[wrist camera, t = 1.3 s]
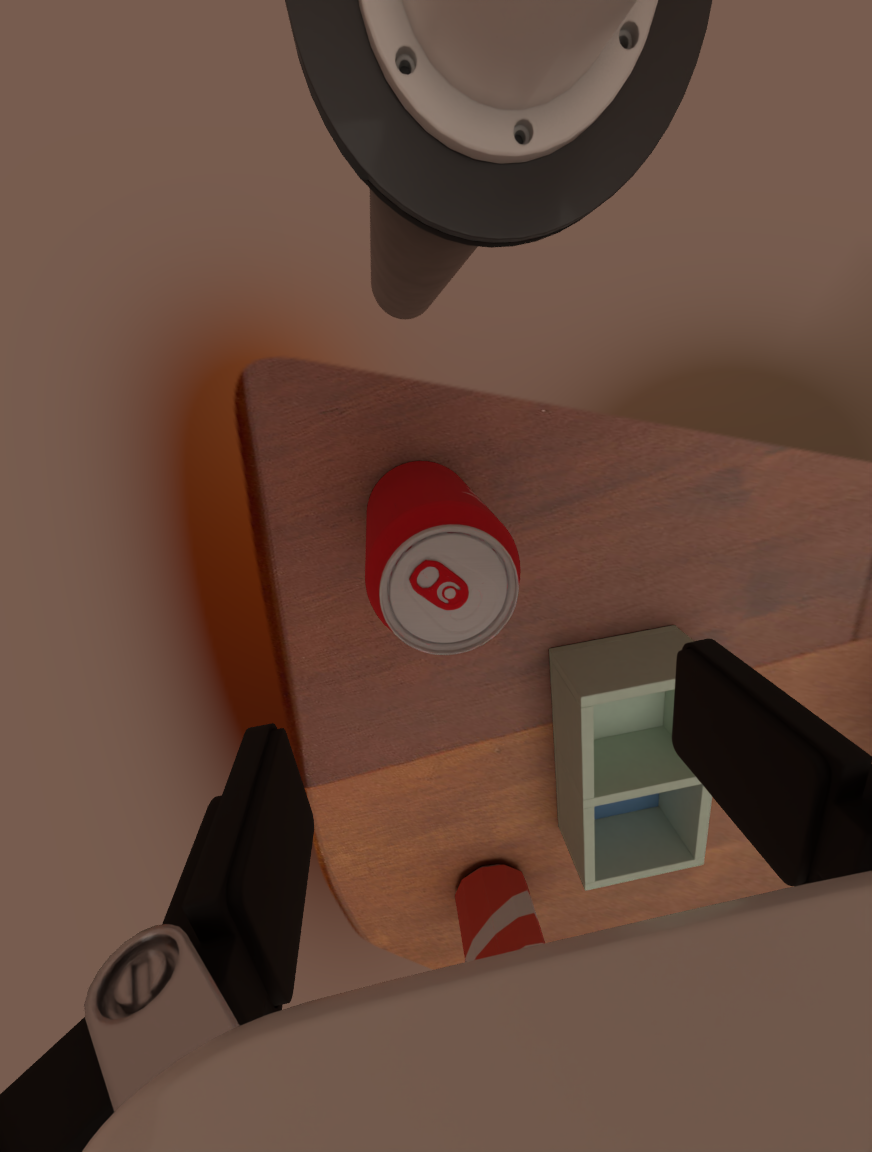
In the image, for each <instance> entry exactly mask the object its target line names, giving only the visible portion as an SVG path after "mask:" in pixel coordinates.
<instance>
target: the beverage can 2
mask: <svg viewBox="0 0 872 1152" xmlns="http://www.w3.org/2000/svg"><path fill="white" fill-rule="evenodd" d="M455 900H456V906H457V912H458V918H459V924H460V931H461V937H462V943H463V949H464V955H465V962H469V961H473V960H478V959H482V958H486V957H490V956H494V955H499V954H503V953H507V952H511V951H515V950H520V949H524V948H528V947H532V946H537V945H541V944H545V941H544V938H543V935H542V932H541V928H540V925H539V922H538V919H537V915H536V912H535V909H534V906H533V902H532V899H531V896H530V893H529V889H528V886H527V883H526V881H525V879H524V876H523V874H522V872H521V871H519V870H516V869H514V868H511V867H509V866H506V865H499V864H495V865H488V866H482V867H480V868H478V869H477V870H475V871H474V872H472V873H471V874H469V875H468V876H467V877H465V878H464V879H462V880H461V883H460V885H459V887H458V889H457V892H456V894H455Z"/></svg>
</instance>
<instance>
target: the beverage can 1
mask: <svg viewBox="0 0 872 1152" xmlns="http://www.w3.org/2000/svg"><path fill="white" fill-rule="evenodd" d="M519 582H520V560H519V555H518V551H517V548H516V545H515V543H514V540H513V538H512V536H511V535H510V533H509V532H508V530H507V529H506V527H505V526H504V525H503V524H502V523H501V522H500V521H499V520H498V518H497V517H496V516H495V515H494V514H493V513H492V512H491V511H490V510H489V509H488V508H487V507H486V505H485V504H484V503H483V502H482V501H481V500H480V499H479V498H478V497H477V496H476V495H475V493H474V492H473V491H472V490H471V489H470V488H469V487H468V486H467V485H466V484H465V483H464V482H463V480H462V479H461V478H460V477H459V476H458V475H457V474H456V473H454V472H453V471H452V470H450V469H449V468H447V467H445V466H443V465H440V464H438V463H434V462H429V461H413V462H408V463H405V464H402V465H399V466H397V467H395V468H393V469H392V470H390V471H389V472H387V473H386V474H385V475H384V476H383V477H382V478H381V479H380V480H379V481H378V483H377V484H376V485H375V487H374V489H373V490H372V493H371V495H370V498H369V501H368V505H367V522H366V563H365V583H366V590H367V594H368V598H369V600H370V603H371V605H372V607H373V609H374V611H375V613H376V614H377V616H378V617H379V619H380V620H381V621H382V622H383V623H384V625H385V626H387V627H388V628H389V629H390V630H391V631H392V632H393V633H394V634H395V635H396V636H397V637H398V638H399V639H401V640H402V641H403V642H404V643H406V644H407V645H409V646H411V647H413V648H415V649H417V650H420V651H422V652H426V653H430V654H438V655H452V654H459V653H464V652H467V651H470V650H473V649H475V648H477V647H480V646H482V645H483V644H485V643H486V642H488V641H489V640H491V639H492V638H493V637H495V636H496V635H497V634H498V633H499V632H500V631H501V629H502V628H503V627H504V626H505V625H506V623H507V622H508V620H509V619H510V617H511V615H512V613H513V611H514V608H515V605H516V603H517V598H518V591H519Z"/></svg>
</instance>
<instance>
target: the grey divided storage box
mask: <svg viewBox="0 0 872 1152" xmlns="http://www.w3.org/2000/svg"><path fill="white" fill-rule="evenodd" d="M689 642H694V641H693V640H692V639H691V638H690V637H688V636H687V635H686V634H685V633H684V632H682V631H681V630H680V629H679V628H678V627H676V626H675V625H672V626H666V627H661V628H656V629H651V630H645V631H640V632H635V633H629V634H624V635H619V636H614V637H608V638H603V639H598V640H592V641H587V642H582V643H577V644H571V645H566V646H561V647H555V648H550V649H549V659H550V678H551V697H552V716H553V735H554V754H555V773H556V792H557V811H558V827H559V829H560V831H561V834H562V836H563V839H564V841H565V843H566V846H567V848H568V851H569V853H570V855H571V858H572V860H573V863H574V865H575V867H576V870H577V872H578V875H579V877H580V879H581V882H582V884H583V887H584V889H585V890H591V889H595V888H600V887H604V886H609V885H613V884H618V883H622V882H627V881H631V880H636V879H640V878H645V877H650V876H654V875H659V874H663V873H668V872H672V871H677V870H681V869H686V868H690V867H695V866H699V865H703V864H704V857H705V850H706V842H707V834H708V826H709V818H710V810H711V802H712V796H711V794H710V793H709V792H708V791H707V790H706V788H705V787H704V786H703V785H702V784H701V782H700V781H699V780H698V779H697V778H696V776H695V775H694V774H693V773H692V772H691V770H690V769H689V768H688V767H687V766H686V764H685V763H684V762H683V761H682V760H681V758H680V757H679V756H678V755H677V753H676V751H675V749H674V747H673V744H672V725H673V709H674V693H675V676H676V660H677V653H678V652H679V651H680V650H682V648H683V646H684V644H686V643H689Z"/></svg>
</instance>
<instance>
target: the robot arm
mask: <svg viewBox="0 0 872 1152" xmlns="http://www.w3.org/2000/svg"><path fill="white" fill-rule="evenodd" d="M358 1H359V7H360V11H361V14H362V18H363V21H364V25H365V28H366V32H367V35H368V39H369V42H370V46H371V48H372V50H373V52H374V54H375V57H376V59H377V61H378V63H379V65H380V68H381V70H382V72H383V74H384V77H385V79H386V81H387V82H388V84H389V85H390V87H391V88H392V90H393V91H394V93H395V94H396V96H397V97H398V99H399V100H400V102H401V103H402V105H403V107H404V108H405V109H406V110H407V111H408V112H409V113H410V115H411V116H412V117H413V118H414V119H415V120H416V121H417V122H418V123H419V124H420V125H421V126H422V127H423V128H424V130H425V131H426V132H428V133H429V134H431V135H432V136H433V137H435V138H436V139H437V140H439V141H440V142H442V143H443V144H444V145H446V146H447V147H448V148H450V149H452V150H455V151H457V152H459V153H461V154H464V155H466V156H468V157H471V158H473V159H476V160H482V161H487V162H493V163H498V164H504V163H520V162H527V161H530V160H534V159H537V158H540V157H543V156H546V155H549V154H551V153H553V152H555V151H556V150H558V149H560V148H562V147H563V146H565V145H567V144H568V143H570V142H572V141H574V140H575V139H576V138H577V137H578V136H579V135H580V134H581V133H582V132H584V131H585V130H586V129H587V128H588V127H589V126H590V125H591V124H592V123H594V122H595V121H596V119H597V118H598V117H599V116H600V115H601V113H602V112H603V111H604V110H605V109H606V108H607V106H608V105H609V104H610V103H611V102H612V101H613V99H614V98H615V96H616V95H617V93H618V92H619V90H620V89H621V87H622V86H623V84H624V83H625V81H626V80H627V78H628V77H629V75H630V74H631V72H632V70H633V68H634V66H635V64H636V62H637V60H638V57H639V55H640V53H641V51H642V49H643V47H644V44H645V42H646V39H647V36H648V33H649V29H650V26H651V23H652V19H653V16H654V13H655V9H656V6H657V3H658V0H358ZM620 42H621V43H622V45H623V47H622V45H621V44H620ZM402 66H406V67H407V68H408V69H409V70H410V74H409V75H406V74H402V73H401V72H400V71H399V69H400V67H402ZM515 135H520V136H521V137H522V140H523V144H519V143H518V142H517V141H516V140H515V137H514V136H515ZM672 744H673V747H674V749H675V751H676V753H677V755H678V756H679V757H680V758H681V760H682V761H683V762H684V763H685V764H686V766H687V767H688V768H689V769H690V770H691V772H692V773H693V774H694V775H695V776H696V778H697V779H698V780H699V781H700V782H701V784H702V785H703V786H704V787H705V788H706V790H707V791H708V792H709V793H710V794H711V796H712V797H713V798H714V799H715V800H716V802H717V803H718V804H719V805H720V806H721V808H722V809H723V810H724V811H725V812H726V814H727V815H728V816H729V817H730V818H731V820H732V821H733V822H734V823H735V824H736V826H737V827H738V828H739V829H740V830H741V832H742V833H743V834H744V835H745V836H746V838H747V839H748V840H749V841H750V842H751V844H752V845H753V846H754V847H755V848H756V850H757V851H758V852H759V853H760V854H761V856H762V857H763V858H764V859H765V860H766V862H767V863H768V864H769V865H770V866H771V868H772V869H773V870H774V871H775V872H776V874H777V875H778V876H779V877H780V878H781V879H782V880H783V881H784V882H785V883H786V884H787V885H790V886H794V887H790V888H785V889H781V890H777V891H772V892H768V893H763V894H759V895H754V896H750V897H745V898H741V899H737V900H732V901H728V902H723V903H719V904H714V905H710V906H706V907H701V908H697V909H692V910H688V911H683V912H679V913H675V914H670V915H666V916H662V917H657V918H653V919H649V920H644V921H640V922H636V923H631V924H627V925H623V926H618V927H614V928H610V929H605V930H601V931H597V932H592V933H588V934H584V935H580V936H575V937H571V938H567V939H562V940H558V941H554V942H549V943H545V944H541V945H537V946H532V947H528V948H524V949H520V950H515V951H511V952H507V953H503V954H499V955H494V956H490V957H486V958H482V959H478V960H473V961H469V962H465V963H461V964H457V965H452V966H448V967H444V968H440V969H436V970H432V971H427V972H423V973H419V974H415V975H411V976H407V977H403V978H398V979H394V980H390V981H386V982H382V983H379V984H375V985H371V986H367V987H363V988H359V989H355V990H351V991H348V992H344V993H340V994H336V995H332V996H328V997H324V998H320V999H317V1000H313V1001H309V1002H306V1003H303V1004H300V1005H297V1006H293V1007H290V1008H287V1009H284V1010H282V1004H286V1003H290V1001H291V999H292V995H293V989H294V981H295V973H296V965H297V957H298V950H299V942H300V935H301V926H302V918H303V911H304V903H305V896H306V888H307V880H308V872H309V865H310V857H311V849H312V841H313V834H314V819H313V814H312V810H311V807H310V804H309V801H308V798H307V795H306V792H305V789H304V786H303V783H302V780H301V777H300V774H299V771H298V767H297V764H296V761H295V758H294V755H293V752H292V749H291V746H290V743H289V740H288V737H287V734H286V731H285V729H284V728H280V729H277V727H276V726H275V724H273V723H272V724H267V725H262V726H256V727H251V728H248V729H247V730H246V732H245V734H244V737H243V740H242V743H241V745H240V748H239V750H238V753H237V756H236V759H235V762H234V764H233V767H232V770H231V772H230V775H229V778H228V781H227V783H226V786H225V789H224V792H223V794H222V796H217V797H215V798H213V799H212V800H211V802H210V804H209V806H208V808H207V810H206V813H205V816H204V818H203V821H202V823H201V826H200V829H199V831H198V834H197V836H196V839H195V841H194V844H193V847H192V849H191V852H190V854H189V857H188V859H187V862H186V865H185V867H184V870H183V872H182V875H181V877H180V880H179V883H178V885H177V888H176V891H175V893H174V895H173V898H172V901H171V903H170V906H169V908H168V911H167V914H166V916H165V919H164V921H163V924H162V925H156V926H153V927H151V928H148V929H146V930H144V931H141V932H139V933H138V934H136V935H135V936H133V937H132V938H130V939H129V940H127V941H126V942H124V944H122V945H121V946H120V947H119V948H118V949H117V950H116V951H115V952H114V953H113V954H112V955H110V957H109V958H108V959H107V961H106V962H105V963H104V964H103V966H102V967H101V968H100V969H99V971H98V973H97V974H96V976H95V978H94V980H93V982H92V984H91V985H90V987H89V990H88V993H87V997H86V1001H85V1004H84V1007H85V1017H84V1018H83V1019H82V1020H81V1021H80V1022H79V1023H78V1024H77V1025H76V1026H74V1028H72V1029H71V1030H70V1031H69V1032H68V1033H67V1034H66V1035H65V1036H64V1037H63V1038H61V1039H60V1040H59V1041H58V1042H57V1043H56V1044H55V1045H54V1046H53V1047H52V1048H50V1049H49V1050H48V1051H47V1052H46V1053H45V1054H44V1055H43V1056H42V1057H41V1058H40V1059H38V1060H37V1061H36V1062H35V1063H34V1064H33V1065H32V1066H31V1067H30V1068H29V1069H28V1070H26V1071H25V1072H24V1073H23V1074H22V1075H21V1076H20V1077H19V1078H18V1079H17V1080H16V1081H15V1082H13V1083H12V1084H11V1085H10V1086H9V1087H8V1088H7V1089H6V1090H5V1091H4V1092H2V1093H1V1094H0V1152H872V764H871V763H872V756H870V755H869V754H868V753H866V752H865V751H864V750H862V749H861V748H860V747H858V746H857V745H856V744H854V743H853V742H851V741H850V740H849V739H847V738H846V737H845V736H843V735H842V734H841V733H839V732H838V731H837V730H835V729H834V728H832V727H831V726H830V725H828V724H827V723H826V722H824V721H823V720H822V719H820V718H819V717H818V716H816V715H815V714H814V713H812V712H811V711H809V710H808V709H807V708H805V707H804V706H803V705H801V704H800V703H799V702H797V701H796V700H795V699H793V698H792V697H791V696H789V695H788V694H786V693H785V692H784V691H782V690H781V689H780V688H778V687H777V686H776V685H774V684H773V683H772V682H770V681H769V680H767V679H766V678H765V677H763V676H762V675H761V674H759V673H758V672H757V671H755V670H754V669H753V668H751V667H750V666H749V665H747V664H746V663H744V662H743V661H742V660H740V659H739V658H738V657H736V656H735V655H734V654H732V653H731V652H730V651H728V650H727V649H725V648H724V647H723V646H721V645H720V644H719V643H717V642H716V641H714V640H712V639H704V640H699V641H694V642H689V643H686V644H684V646H683V648H682V650H680V651H679V652H678V653H677V660H676V676H675V693H674V709H673V725H672Z"/></svg>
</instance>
